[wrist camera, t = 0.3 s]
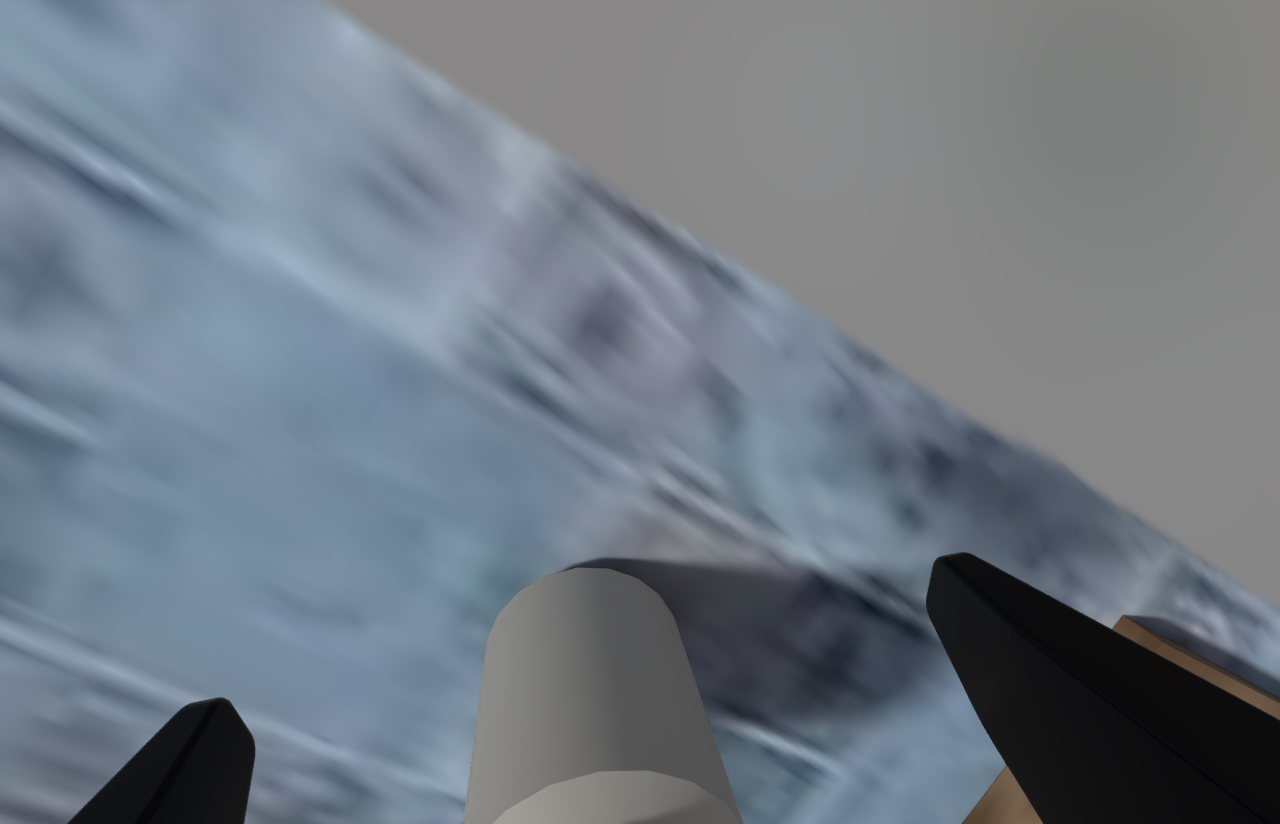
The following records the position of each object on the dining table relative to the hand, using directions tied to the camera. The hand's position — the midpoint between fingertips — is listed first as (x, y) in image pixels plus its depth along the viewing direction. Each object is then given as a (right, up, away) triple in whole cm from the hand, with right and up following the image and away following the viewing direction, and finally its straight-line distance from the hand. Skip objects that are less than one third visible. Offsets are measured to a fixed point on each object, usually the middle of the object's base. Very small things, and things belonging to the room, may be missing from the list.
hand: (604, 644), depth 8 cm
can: (-2, -6, +18) cm, 19 cm away
